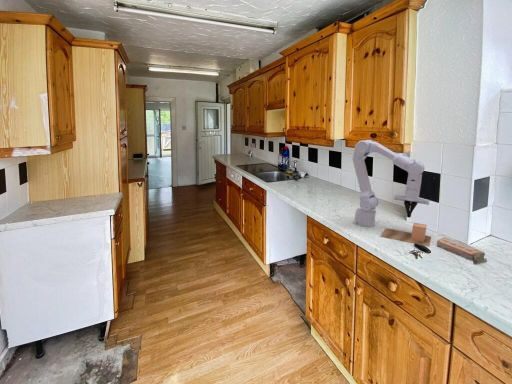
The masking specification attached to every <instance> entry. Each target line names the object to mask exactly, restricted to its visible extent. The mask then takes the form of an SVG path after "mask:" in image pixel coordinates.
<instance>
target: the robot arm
mask: <svg viewBox="0 0 512 384" xmlns="http://www.w3.org/2000/svg"><path fill="white" fill-rule="evenodd" d="M371 153H378V154H380V155H382V156H383V157H386V158H387V159H390V160H392V163H393V165H395V166H397V167H399V168H400V169H402V170H404V171H406V172H407V173H408V174H407V181H406V187H405V193H404V195H397V194H396V195H395V194H394V197H393V200H395V201H403V204H404V207H405V211H406V218H411V217H412V215H413V214H412V213H413V211H414V210H415V208H416V207H417V205H418V204H421V205H427V206H429V205H430V199H425V198H421V197H420V193H421V185H422V177H423V172H424V171H425V165H424V163H422V162H421V161H417V160H416V159H414V158H411V157H409V156H408V155H407V154H406V153H403V152H402V153H401V152H400V153H395V152H394V151H392V150H391V149H389V148H388V147H386V146H385V145H382V144H381V143H379V142H377V141H374V140H372V139H366V140H364V139H363V140H361V139H360V140H359V141H358V142H356V144H355V146H354V151H353V155H352V163H353V167H354V171H355V174H356V177H357V178H356V179H357V182H358V186H359V191H360V194H359V207H360V208H356V210H355V215H354V225H358V226H362V227H365V228H372V227H374V226H375V222H376V221H375V220H376V212H377V210H376V207H378V204H379V198H378V197H376V194H375V192H374V191H373V190H372V186H371V182H370V178H369V175H368V170H367V165H366V162H365V160H366V158H367V157H368V155H369V154H371Z"/></svg>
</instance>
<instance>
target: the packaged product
mask: <svg viewBox="0 0 512 384" xmlns="http://www.w3.org/2000/svg"><path fill="white" fill-rule="evenodd" d="M436 245H437V247H438V248H441V249H442V250H445V251H447V252H449V253H451V254H454V255H456V256H459V257H461V258H464V259H467V260H470V261H472V262H473V265H476V264H481V263H486V262H487V261H488V260H487V257H485V255H486V254H485V251H482V250H479V248H478V249H477V248H476V247H472V246H470V245H467V244H464V243H462V242H459V241H456V240H454V239H452V238H449V237H446V236H444V237H441V238H440V239H438V240H437V241H436Z"/></svg>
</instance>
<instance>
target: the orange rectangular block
mask: <svg viewBox="0 0 512 384" xmlns="http://www.w3.org/2000/svg"><path fill="white" fill-rule="evenodd" d="M427 226H428V225H427V224H424V223H420V222H419V223H418V222H413V224H412V230H411V233H412V235H411V240H416V241H421V242H424V240H425V235H426V234H427V228H428V227H427Z"/></svg>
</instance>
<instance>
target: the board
mask: <svg viewBox="0 0 512 384" xmlns="http://www.w3.org/2000/svg"><path fill="white" fill-rule="evenodd" d="M411 235H412V232H407V231H402V230H398V229H393V228H388V227H385V228H384V230H383V231H382V233H381V234H380V235H379V237H380V238H385V239H389V240H394V241H399V242H404V243H409V244H413V245H414V244H415V245H420V246H424V247H428V248H429V247H430V246H431V240H432V236H430V235H426V234H425V240H424V242H421V241H416V240H411Z"/></svg>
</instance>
